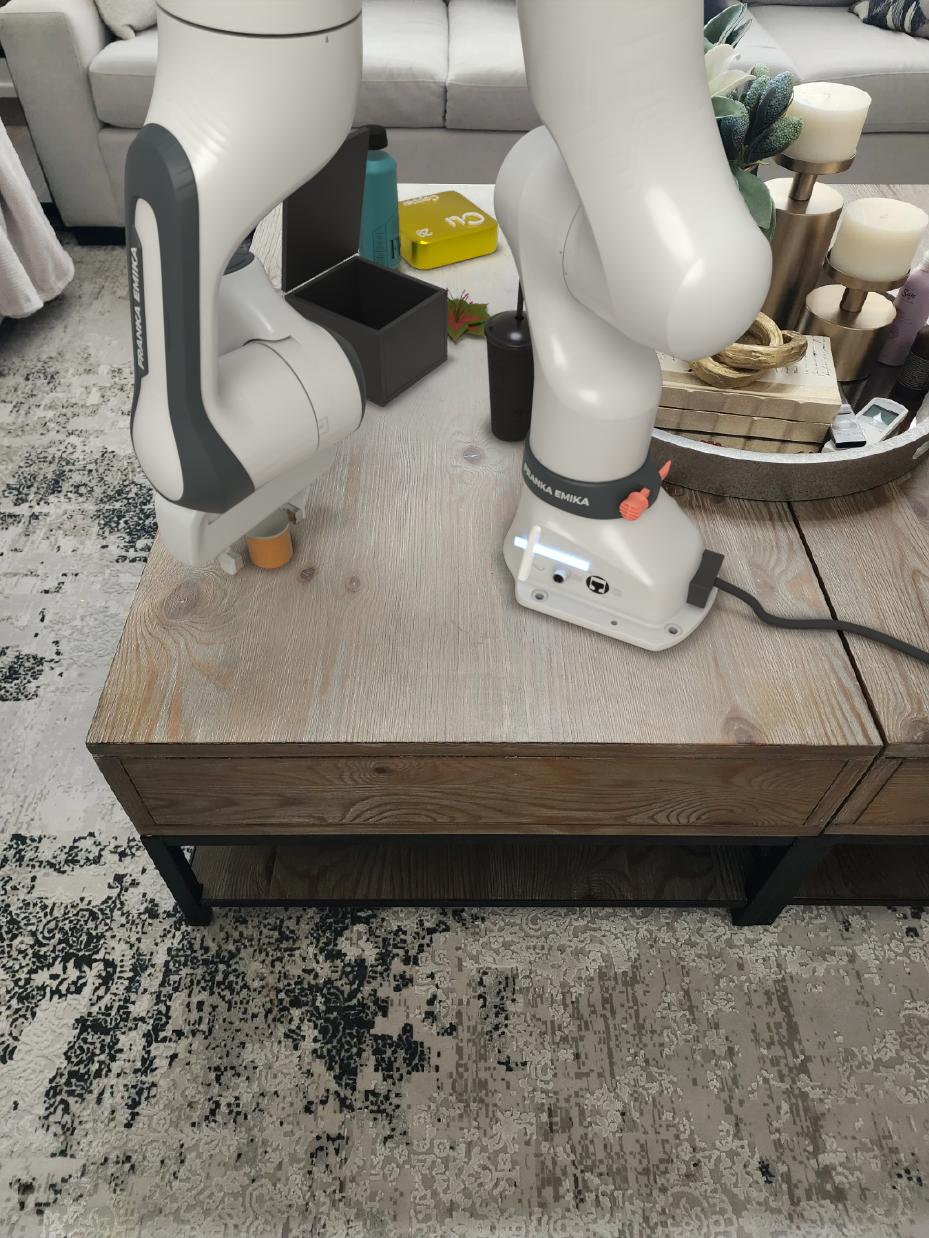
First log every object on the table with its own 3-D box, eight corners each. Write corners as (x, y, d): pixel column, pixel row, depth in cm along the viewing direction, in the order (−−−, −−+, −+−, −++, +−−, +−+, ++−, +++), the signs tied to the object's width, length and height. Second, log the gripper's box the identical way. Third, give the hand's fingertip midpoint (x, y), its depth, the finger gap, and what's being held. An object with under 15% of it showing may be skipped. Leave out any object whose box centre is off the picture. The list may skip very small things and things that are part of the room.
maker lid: (370, 129, 98) (337, 110, 99) (288, 166, 91) (253, 144, 92) (358, 252, 111) (329, 234, 112) (285, 293, 104) (255, 273, 105)
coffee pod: (303, 550, 89) (298, 518, 85) (272, 576, 86) (265, 544, 83) (271, 532, 91) (264, 500, 87) (239, 556, 88) (231, 524, 85)
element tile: (454, 214, 142) (454, 185, 139) (501, 251, 134) (503, 221, 130) (374, 233, 137) (372, 203, 134) (418, 273, 129) (417, 241, 125)
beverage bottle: (396, 284, 126) (390, 139, 111) (353, 279, 127) (341, 134, 112) (407, 264, 131) (402, 121, 116) (365, 259, 131) (355, 117, 116)
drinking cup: (469, 438, 102) (474, 279, 87) (495, 405, 107) (503, 249, 92) (527, 456, 100) (543, 297, 85) (551, 422, 105) (570, 264, 90)
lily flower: (498, 347, 116) (500, 316, 112) (410, 344, 116) (409, 313, 112) (499, 303, 123) (500, 273, 120) (417, 300, 123) (416, 269, 120)
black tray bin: (447, 359, 113) (448, 290, 106) (382, 406, 106) (378, 335, 99) (361, 323, 119) (356, 254, 112) (294, 365, 112) (283, 295, 104)
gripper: (295, 368, 83) (310, 479, 93) (130, 475, 72) (168, 587, 82) (344, 391, 81) (354, 501, 91) (182, 504, 69) (214, 616, 80)
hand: (265, 543), depth 86 cm, fingers open, 8 cm apart
